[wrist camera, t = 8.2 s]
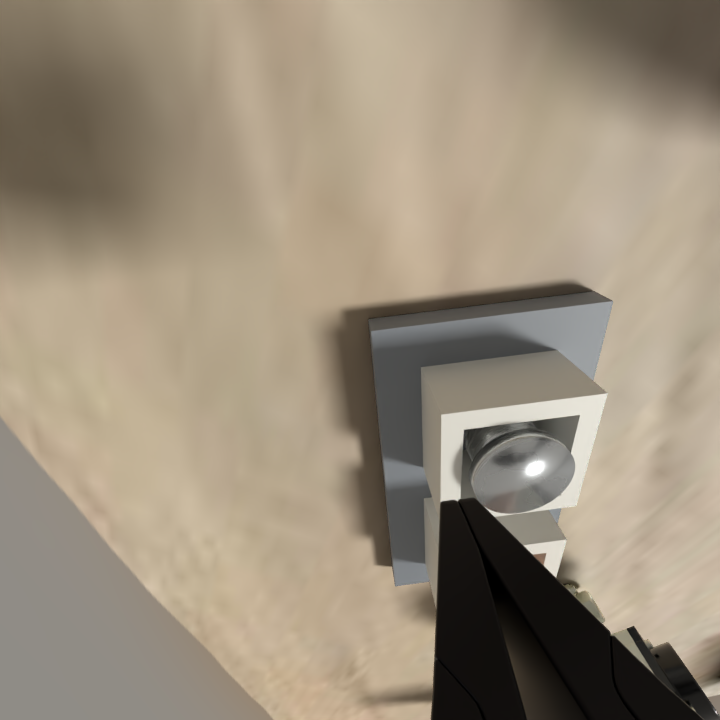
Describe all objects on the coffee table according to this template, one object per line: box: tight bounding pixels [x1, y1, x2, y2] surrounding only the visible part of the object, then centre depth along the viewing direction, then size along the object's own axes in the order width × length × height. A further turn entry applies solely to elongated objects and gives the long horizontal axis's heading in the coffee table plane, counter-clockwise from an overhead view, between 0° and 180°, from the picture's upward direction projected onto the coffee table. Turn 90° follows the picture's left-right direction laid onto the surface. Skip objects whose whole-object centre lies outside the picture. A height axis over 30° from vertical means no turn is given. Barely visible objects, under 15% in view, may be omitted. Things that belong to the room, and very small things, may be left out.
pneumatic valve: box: [564, 584, 720, 720], centre depth 29 cm, size 6×12×12 cm, turn 126°
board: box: [368, 291, 613, 607], centre depth 22 cm, size 12×22×6 cm, turn 6°
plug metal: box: [463, 421, 575, 514], centre depth 19 cm, size 5×5×5 cm
